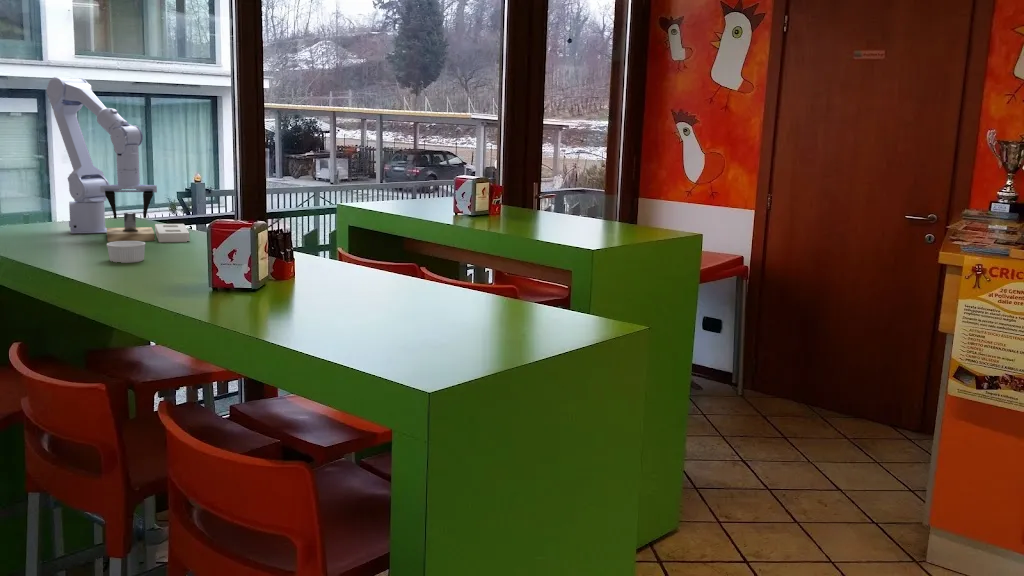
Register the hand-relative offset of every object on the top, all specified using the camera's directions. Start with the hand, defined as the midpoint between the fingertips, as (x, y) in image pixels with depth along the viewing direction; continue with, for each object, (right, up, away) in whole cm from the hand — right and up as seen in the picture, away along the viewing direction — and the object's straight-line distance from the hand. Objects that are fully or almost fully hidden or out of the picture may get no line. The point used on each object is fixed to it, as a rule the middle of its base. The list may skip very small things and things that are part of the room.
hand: (130, 217), depth 256 cm
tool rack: (+10, -5, +6) cm, 12 cm away
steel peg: (0, -6, +1) cm, 6 cm away
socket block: (0, -6, +1) cm, 6 cm away
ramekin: (+12, -13, -31) cm, 35 cm away
